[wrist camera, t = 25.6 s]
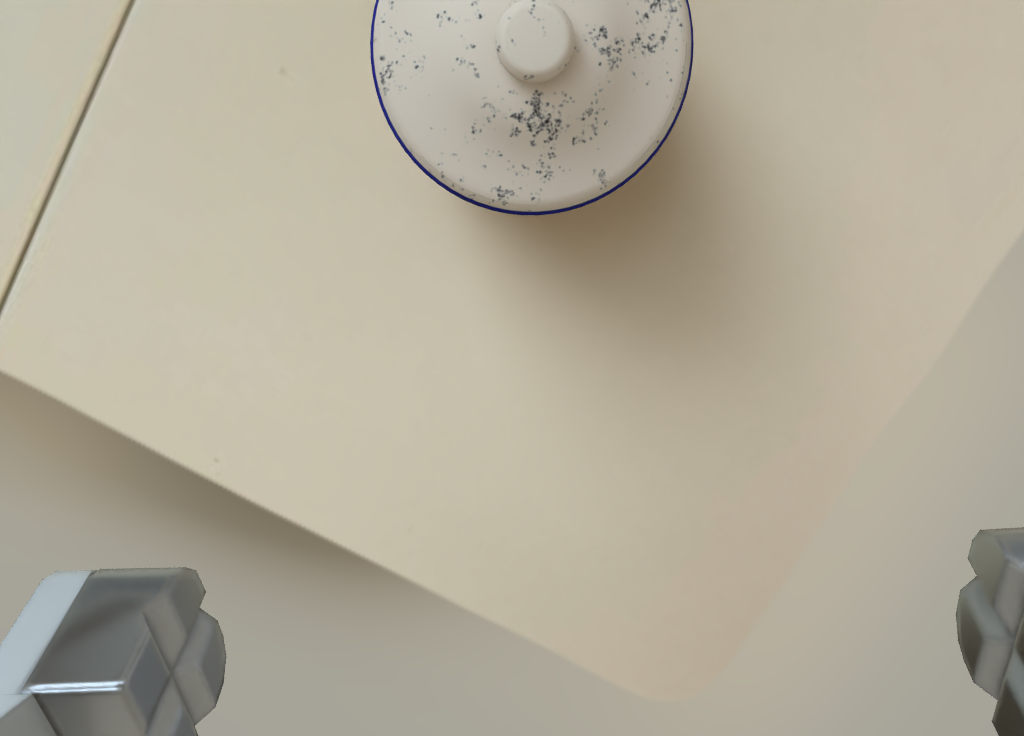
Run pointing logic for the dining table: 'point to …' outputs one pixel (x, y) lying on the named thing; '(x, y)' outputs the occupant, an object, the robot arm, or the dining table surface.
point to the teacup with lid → (531, 93)
